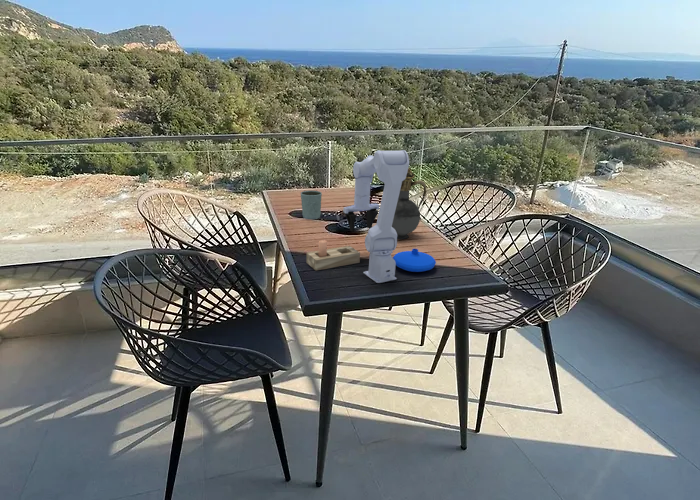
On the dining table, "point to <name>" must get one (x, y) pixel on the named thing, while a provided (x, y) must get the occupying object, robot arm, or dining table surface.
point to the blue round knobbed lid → (414, 261)
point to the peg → (322, 248)
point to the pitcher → (407, 208)
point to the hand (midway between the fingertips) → (360, 229)
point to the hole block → (333, 258)
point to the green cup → (311, 204)
